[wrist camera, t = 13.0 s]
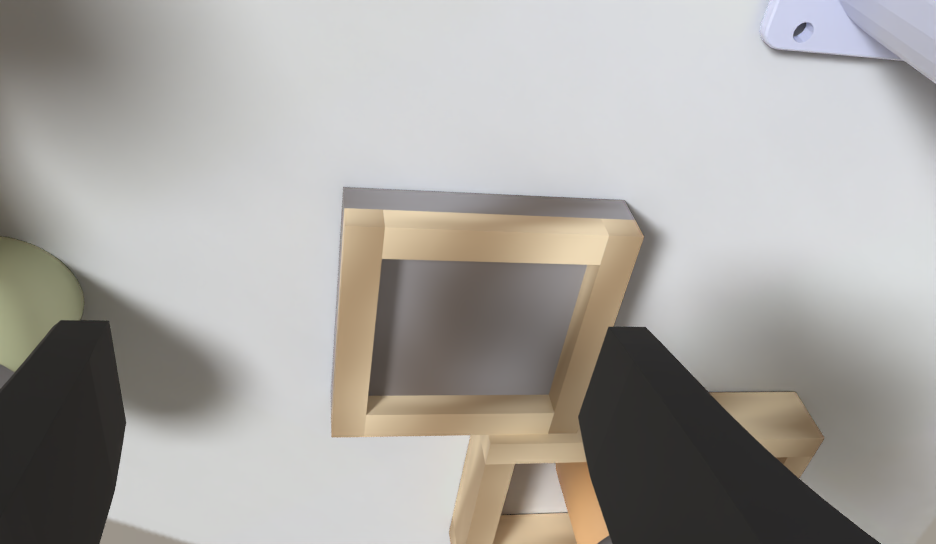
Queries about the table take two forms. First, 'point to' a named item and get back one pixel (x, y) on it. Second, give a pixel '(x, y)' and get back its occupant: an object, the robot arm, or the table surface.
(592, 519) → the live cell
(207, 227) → the table surface
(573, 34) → the table surface
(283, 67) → the table surface
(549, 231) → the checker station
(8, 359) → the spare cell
